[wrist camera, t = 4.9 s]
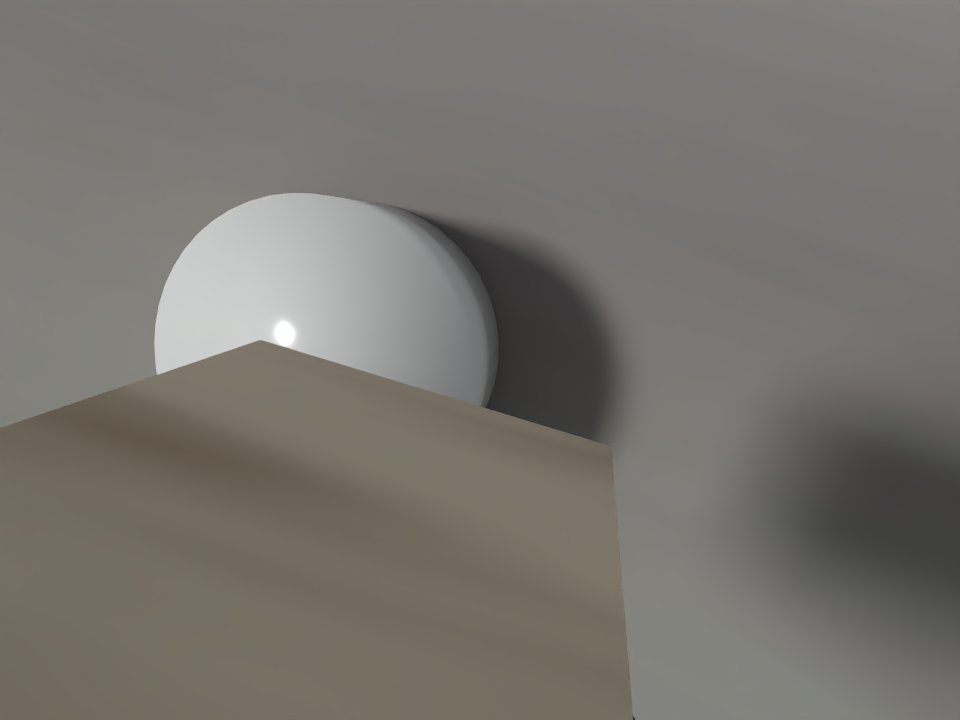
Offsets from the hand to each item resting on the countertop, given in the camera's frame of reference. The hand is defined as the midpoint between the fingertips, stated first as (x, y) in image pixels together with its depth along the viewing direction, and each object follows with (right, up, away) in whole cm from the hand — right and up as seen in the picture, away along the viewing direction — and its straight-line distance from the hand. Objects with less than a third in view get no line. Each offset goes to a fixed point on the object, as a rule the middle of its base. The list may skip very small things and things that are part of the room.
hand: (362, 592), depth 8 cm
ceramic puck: (-2, +3, +12) cm, 13 cm away
